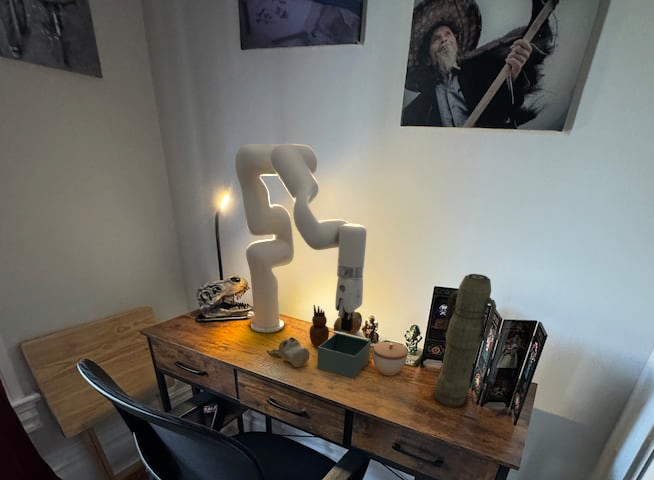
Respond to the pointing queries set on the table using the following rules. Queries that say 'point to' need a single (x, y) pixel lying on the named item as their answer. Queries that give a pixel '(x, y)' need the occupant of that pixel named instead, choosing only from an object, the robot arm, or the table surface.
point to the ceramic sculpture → (291, 352)
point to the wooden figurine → (319, 328)
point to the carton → (344, 355)
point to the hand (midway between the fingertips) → (346, 329)
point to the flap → (349, 335)
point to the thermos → (463, 337)
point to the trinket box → (389, 357)
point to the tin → (355, 327)
